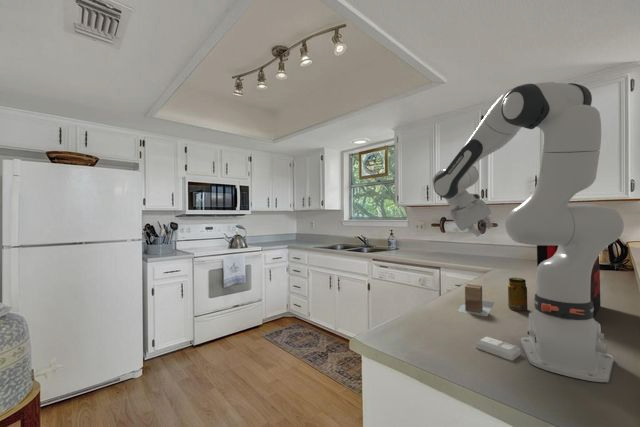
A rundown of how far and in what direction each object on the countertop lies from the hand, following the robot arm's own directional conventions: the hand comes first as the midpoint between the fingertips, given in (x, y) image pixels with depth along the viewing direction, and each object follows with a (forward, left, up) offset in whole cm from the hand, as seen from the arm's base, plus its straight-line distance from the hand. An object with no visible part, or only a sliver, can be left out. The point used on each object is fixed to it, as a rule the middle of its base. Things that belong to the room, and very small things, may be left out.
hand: (485, 231), depth 116 cm
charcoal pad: (+2, +2, -30) cm, 30 cm away
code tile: (-9, +3, -30) cm, 31 cm away
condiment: (+1, -11, -30) cm, 32 cm away
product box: (+13, -26, -30) cm, 42 cm away
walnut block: (-9, +3, -29) cm, 31 cm away
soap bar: (-41, -8, -30) cm, 52 cm away
